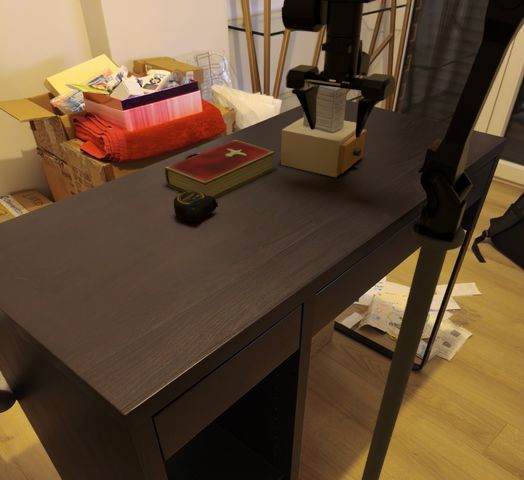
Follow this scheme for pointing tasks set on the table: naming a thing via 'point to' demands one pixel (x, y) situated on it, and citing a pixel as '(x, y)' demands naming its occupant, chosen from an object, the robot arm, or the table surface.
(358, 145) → the drawer
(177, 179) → the hardcover book
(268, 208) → the table surface
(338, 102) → the medicine box
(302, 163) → the cabinet
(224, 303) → the table surface
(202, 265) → the table surface
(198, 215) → the tape measure
